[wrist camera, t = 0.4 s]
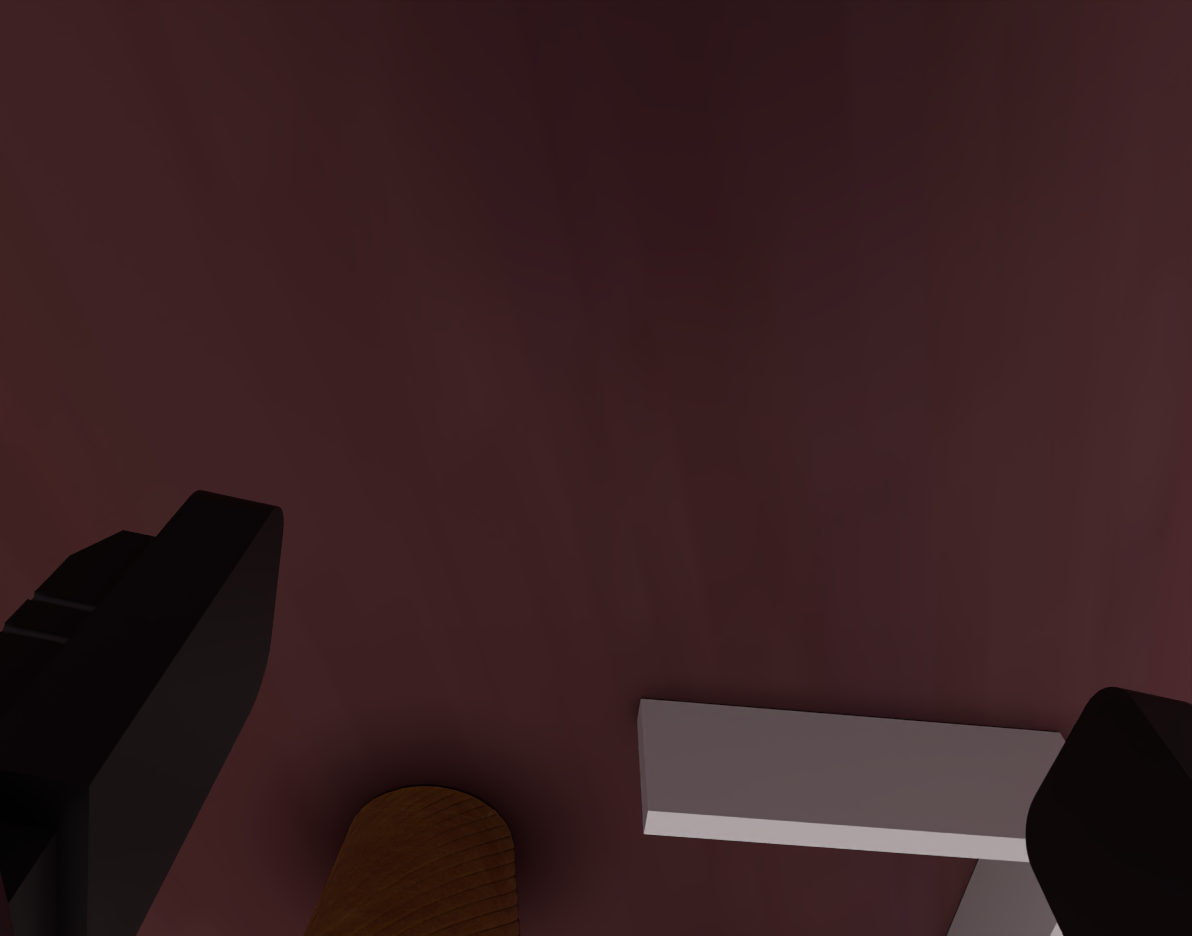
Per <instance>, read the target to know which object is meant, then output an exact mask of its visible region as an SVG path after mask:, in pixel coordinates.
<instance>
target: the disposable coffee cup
mask: <svg viewBox="0 0 1192 936" xmlns="http://www.w3.org/2000/svg"><path fill="white" fill-rule="evenodd" d="M303 936H520V925H519V910H518V895H517V881H516V865H515V849H514V843H513V839H512V836H511V832H510V830H509V828H508V826H507V824H506V823H505V821H504V820H503V819H502V818H501V817H500V815H499V814H498V813H497V812H496V811H495V810H494V809H492V808H491V807H489V806H488V805H486V804H485V803H484V802H482V801H481V800H479V799H477V798H475V797H473V796H471V795H469V794H466V793H463V792H459V791H456V790H453V789H448V788H442V787H432V786H417V787H408V788H402V789H398V790H395V791H392V792H389V793H385V794H383V795H381V796H379V797H377V798H375V799H373V800H372V801H371V802H369V803H368V804H366V805H365V806H364V807H363V808H362V809H361V810H360V812H359V813H358V814H357V815H356V817H355V818H354V819H353V821H352V823H351V825H350V828H349V831H348V833H347V835H346V838H345V840H344V843H343V845H342V847H341V850H340V852H339V854H338V856H337V859H336V861H335V864H334V866H333V868H332V870H331V873H330V875H329V877H328V880H327V882H326V884H325V887H324V889H323V891H322V894H321V896H320V898H319V900H318V903H317V905H316V907H315V909H314V912H313V914H312V916H311V919H310V921H309V923H308V925H307V928H306V930H305V933H304V935H303Z"/></svg>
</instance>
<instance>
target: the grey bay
mask: <svg viewBox="0 0 1192 936" xmlns="http://www.w3.org/2000/svg"><path fill="white" fill-rule="evenodd" d="M637 727H638V744H639V761H640V778H641V795H642V812H643V829H644V834H651V835H665V836H678V837H692V838H706V839H719V840H733V841H746V842H760V843H774V844H787V845H801V846H815V847H828V848H842V849H855V850H869V851H883V852H896V853H910V854H924V855H937V856H951V857H964V858H978V859H979V860H978V862H977V865H976V867H975V869H974V872H973V874H972V876H971V879H970V881H969V884H968V886H967V888H966V891H965V893H964V896H963V898H962V900H961V903H960V905H959V908H958V910H957V912H956V915H955V917H954V919H953V922H952V924H951V927H950V929H949V931H948V934H947V936H1063V934H1062V932H1061V930H1060V928H1059V926H1058V924H1057V921H1056V919H1055V917H1054V915H1053V913H1052V911H1051V909H1050V906H1049V904H1048V902H1047V900H1046V898H1045V896H1044V894H1043V891H1042V889H1041V887H1040V885H1039V883H1038V881H1037V879H1036V876H1035V874H1034V872H1033V870H1032V867H1031V865H1030V862H1029V859H1028V855H1027V849H1026V839H1025V831H1026V820H1027V815H1028V811H1029V808H1030V805H1031V802H1032V800H1033V798H1034V796H1035V794H1036V792H1037V791H1038V789H1039V787H1040V785H1041V784H1042V782H1043V780H1044V778H1045V777H1046V775H1047V773H1048V771H1049V770H1050V768H1051V766H1052V764H1053V763H1054V761H1055V759H1056V757H1057V756H1058V754H1059V752H1060V750H1061V749H1062V747H1063V745H1064V743H1065V740H1064V738H1063V737H1062V735H1061V733H1060V732H1047V731H1035V730H1022V729H1010V728H998V727H985V726H973V725H961V724H948V723H936V722H924V721H911V720H899V719H887V718H874V717H862V716H849V715H837V714H825V713H812V712H800V711H788V710H775V709H763V708H751V707H738V706H726V705H714V704H701V703H689V702H676V701H664V700H652V699H641V701H640V706H639V712H638V718H637Z"/></svg>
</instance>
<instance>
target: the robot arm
mask: <svg viewBox="0 0 1192 936" xmlns="http://www.w3.org/2000/svg"><path fill="white" fill-rule="evenodd" d="M283 525H284V519H283V512H282V509H281V508H280V507H278V506H273V505H268V504H264V503H259V502H254V501H250V500H245V499H240V498H236V497H231V496H226V495H221V494H217V493H212V492H207V491H203V490H197V491H196V492H194V493H193V494H192V495H191V496H190V497H189V498H188V499H187V501H186V502H185V503H184V504H183V505H182V506H181V508H180V509H179V510H178V511H177V512H176V514H175V515H174V516H173V517H172V518H171V519H170V521H169V522H168V523H167V524H166V525H165V527H164V528H163V529H162V530H161V531H160V532H159V534H158V535H157V536H156V537H153V536H149V535H144V534H139V533H134V532H129V531H125V530H123V531H121V532H118V533H116V534H114V535H112V536H110V537H108V538H106V539H104V540H102V541H99V542H97V543H95V544H93V545H91V546H89V547H87V548H85V549H83V550H81V551H78V552H76V553H74V554H72V555H70V556H69V557H68V558H67V559H66V560H65V561H64V562H63V563H62V564H61V565H60V566H59V567H58V568H57V569H56V570H55V571H54V573H53V574H52V575H51V576H50V577H49V578H48V579H47V580H46V581H45V582H44V583H43V584H42V585H41V586H40V587H39V588H38V589H37V590H36V591H35V594H34V597H33V599H32V600H29V599H27V600H26V601H25V602H24V603H23V604H22V606H21V607H20V608H19V609H18V610H17V611H16V612H15V613H14V614H13V615H12V616H11V617H10V618H9V619H8V620H7V621H6V622H5V625H4V628H3V630H2V632H0V936H136V934H137V932H138V930H139V928H140V926H141V925H142V923H143V921H144V919H145V917H146V915H147V913H148V911H149V909H150V907H151V905H152V903H153V901H154V899H155V897H156V895H157V893H158V891H159V889H160V887H161V885H162V883H163V882H164V880H165V878H166V876H167V874H168V872H169V870H170V868H171V866H172V864H173V862H174V860H175V858H176V856H177V854H178V852H179V850H180V848H181V846H182V844H183V842H184V840H185V839H186V837H187V835H188V833H189V831H190V829H191V827H192V825H193V823H194V821H195V819H196V817H197V815H198V813H199V811H200V809H201V807H202V805H203V803H204V801H205V799H206V797H207V795H208V794H209V792H210V790H211V788H212V786H213V784H214V782H215V780H216V778H217V776H218V774H219V772H220V770H221V768H222V766H223V764H224V762H225V760H226V758H227V756H228V754H229V752H230V751H231V749H232V747H233V745H234V743H235V741H236V739H237V737H238V735H239V733H240V731H241V729H242V727H243V725H244V723H245V721H246V719H247V717H248V715H249V713H250V711H251V709H252V707H253V705H254V702H255V700H256V697H257V695H258V692H259V689H260V686H261V683H262V679H263V676H264V672H265V668H266V665H267V660H268V656H269V650H270V644H271V636H272V627H273V618H274V609H275V600H276V591H277V582H278V573H279V564H280V555H281V546H282V537H283ZM1025 839H1026V849H1027V855H1028V859H1029V862H1030V865H1031V867H1032V870H1033V872H1034V874H1035V876H1036V879H1037V881H1038V883H1039V885H1040V887H1041V889H1042V891H1043V894H1044V896H1045V898H1046V900H1047V902H1048V904H1049V906H1050V909H1051V911H1052V913H1053V915H1054V917H1055V919H1056V921H1057V924H1058V926H1059V928H1060V930H1061V932H1062V934H1063V936H1192V705H1191V704H1189V703H1187V702H1184V701H1179V700H1174V699H1169V698H1165V697H1160V696H1155V695H1151V694H1146V693H1141V692H1137V691H1132V690H1127V689H1122V688H1118V687H1107V688H1104V689H1102V690H1100V691H1098V692H1097V693H1096V694H1095V695H1094V696H1093V697H1092V698H1091V699H1090V700H1089V702H1088V703H1087V705H1086V706H1085V708H1084V710H1083V712H1082V713H1081V715H1080V717H1079V719H1078V720H1077V722H1076V724H1075V726H1074V727H1073V729H1072V731H1071V733H1070V734H1069V736H1068V738H1067V740H1066V741H1065V743H1064V745H1063V747H1062V749H1061V750H1060V752H1059V754H1058V756H1057V757H1056V759H1055V761H1054V763H1053V764H1052V766H1051V768H1050V770H1049V771H1048V773H1047V775H1046V777H1045V778H1044V780H1043V782H1042V784H1041V785H1040V787H1039V789H1038V791H1037V792H1036V794H1035V796H1034V798H1033V800H1032V802H1031V805H1030V808H1029V811H1028V815H1027V820H1026V831H1025Z"/></svg>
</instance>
